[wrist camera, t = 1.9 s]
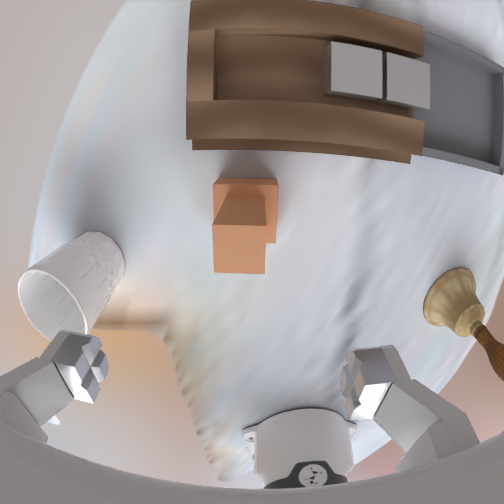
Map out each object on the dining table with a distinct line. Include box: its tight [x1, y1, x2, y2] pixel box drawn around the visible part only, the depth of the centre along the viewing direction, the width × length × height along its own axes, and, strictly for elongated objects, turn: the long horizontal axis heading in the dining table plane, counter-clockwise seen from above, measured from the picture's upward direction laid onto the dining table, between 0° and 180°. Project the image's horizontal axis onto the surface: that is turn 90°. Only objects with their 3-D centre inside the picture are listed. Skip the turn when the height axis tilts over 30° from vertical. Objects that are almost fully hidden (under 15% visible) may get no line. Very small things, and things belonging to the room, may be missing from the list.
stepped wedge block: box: [212, 178, 278, 274], centre depth 22 cm, size 5×5×10 cm
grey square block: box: [373, 52, 430, 110], centre depth 18 cm, size 4×4×3 cm
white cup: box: [18, 231, 125, 341], centre depth 24 cm, size 8×8×10 cm
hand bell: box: [423, 268, 504, 381], centre depth 22 cm, size 8×8×16 cm
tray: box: [414, 30, 504, 175], centre depth 20 cm, size 12×12×2 cm
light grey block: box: [323, 41, 382, 101], centre depth 18 cm, size 4×4×3 cm
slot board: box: [186, 0, 424, 164], centre depth 20 cm, size 14×19×3 cm
